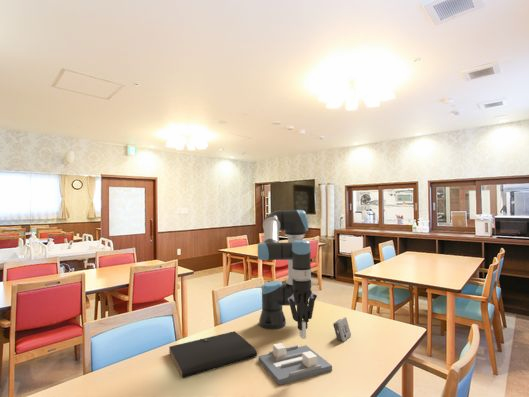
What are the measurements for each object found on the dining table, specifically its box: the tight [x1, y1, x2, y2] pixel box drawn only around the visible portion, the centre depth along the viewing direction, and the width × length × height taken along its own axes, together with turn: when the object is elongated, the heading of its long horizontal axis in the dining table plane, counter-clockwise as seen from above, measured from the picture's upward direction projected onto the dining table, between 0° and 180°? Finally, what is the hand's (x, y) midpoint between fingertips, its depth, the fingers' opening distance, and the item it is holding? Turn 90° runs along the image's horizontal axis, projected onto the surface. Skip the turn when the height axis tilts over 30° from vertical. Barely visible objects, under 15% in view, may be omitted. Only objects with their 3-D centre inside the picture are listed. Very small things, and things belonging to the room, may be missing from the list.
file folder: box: [168, 331, 258, 379], centre depth 137 cm, size 33×4×24 cm
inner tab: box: [272, 342, 287, 358], centre depth 131 cm, size 5×4×4 cm
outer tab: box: [302, 351, 317, 368], centre depth 123 cm, size 5×4×4 cm
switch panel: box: [257, 344, 333, 386], centre depth 127 cm, size 20×24×3 cm
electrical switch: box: [332, 317, 352, 343], centre depth 153 cm, size 9×5×9 cm, turn 141°
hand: (302, 337), depth 123 cm, fingers closed
